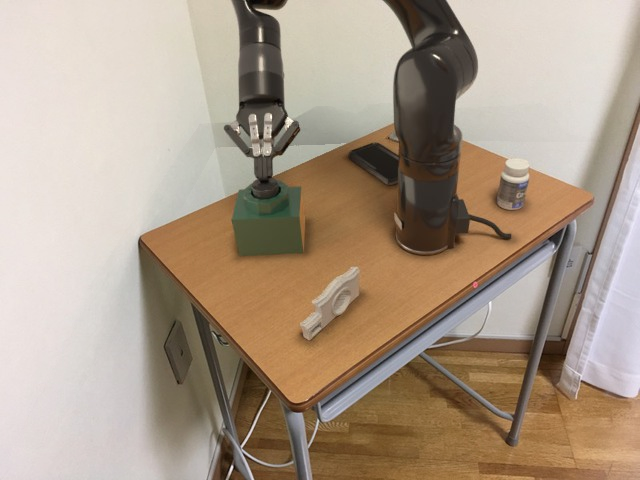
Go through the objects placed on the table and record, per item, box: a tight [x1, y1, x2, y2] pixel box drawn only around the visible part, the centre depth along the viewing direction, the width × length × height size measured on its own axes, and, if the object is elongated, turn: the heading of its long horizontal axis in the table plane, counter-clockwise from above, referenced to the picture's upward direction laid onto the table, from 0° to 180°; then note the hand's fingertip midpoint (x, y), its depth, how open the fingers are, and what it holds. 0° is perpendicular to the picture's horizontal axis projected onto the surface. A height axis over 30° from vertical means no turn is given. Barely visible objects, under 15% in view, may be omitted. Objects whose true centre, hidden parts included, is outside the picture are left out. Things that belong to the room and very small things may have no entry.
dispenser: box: [231, 179, 306, 257], centre depth 88 cm, size 11×9×10 cm
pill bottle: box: [496, 157, 531, 211], centre depth 92 cm, size 5×5×8 cm
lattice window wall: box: [299, 266, 361, 342], centre depth 74 cm, size 12×2×6 cm, turn 139°
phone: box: [348, 142, 399, 186], centre depth 108 cm, size 8×1×15 cm
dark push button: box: [251, 177, 280, 200], centre depth 85 cm, size 4×4×3 cm
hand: (263, 180), depth 84 cm, fingers closed
